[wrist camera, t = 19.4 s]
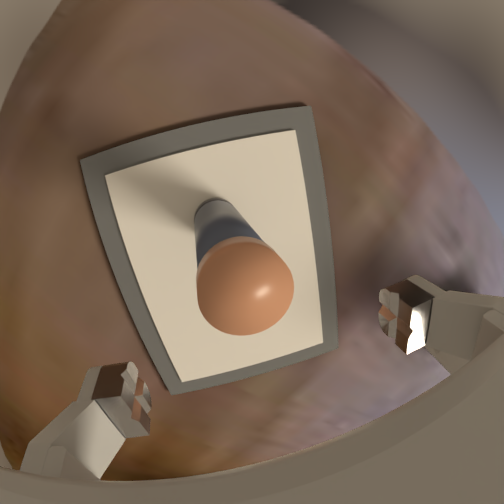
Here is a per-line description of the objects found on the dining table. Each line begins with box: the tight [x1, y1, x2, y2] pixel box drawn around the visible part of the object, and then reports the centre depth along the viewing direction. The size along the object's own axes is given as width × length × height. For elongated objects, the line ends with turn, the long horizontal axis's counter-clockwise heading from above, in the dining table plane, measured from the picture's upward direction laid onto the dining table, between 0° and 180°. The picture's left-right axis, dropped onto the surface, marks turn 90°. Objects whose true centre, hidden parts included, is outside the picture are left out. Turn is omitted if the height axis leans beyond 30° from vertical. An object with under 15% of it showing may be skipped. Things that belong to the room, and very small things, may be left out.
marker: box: [194, 198, 294, 336], centre depth 17 cm, size 4×4×14 cm
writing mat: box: [80, 106, 338, 395], centre depth 26 cm, size 26×20×1 cm
